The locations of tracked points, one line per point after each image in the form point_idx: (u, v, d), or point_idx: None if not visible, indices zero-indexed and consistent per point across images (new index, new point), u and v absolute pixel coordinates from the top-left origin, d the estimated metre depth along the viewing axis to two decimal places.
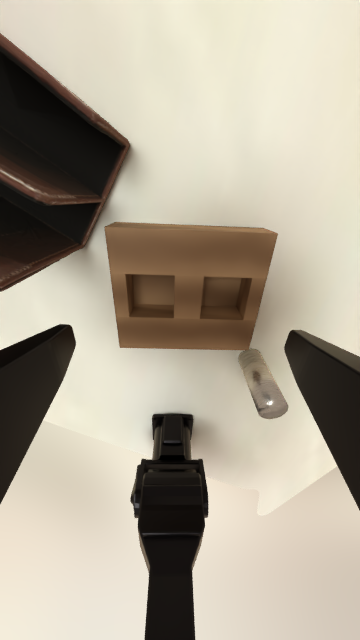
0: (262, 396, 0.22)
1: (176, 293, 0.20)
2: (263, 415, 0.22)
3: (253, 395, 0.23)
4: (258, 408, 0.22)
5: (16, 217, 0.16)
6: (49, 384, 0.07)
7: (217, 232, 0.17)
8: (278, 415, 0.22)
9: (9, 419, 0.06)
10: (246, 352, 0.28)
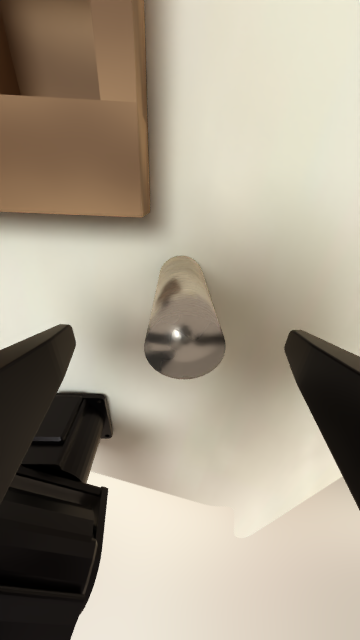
0: (156, 315, 0.08)
1: None
2: (164, 368, 0.08)
3: None
4: (145, 347, 0.08)
5: None
6: (49, 384, 0.07)
7: None
8: (204, 369, 0.08)
9: (9, 419, 0.06)
10: (170, 260, 0.14)
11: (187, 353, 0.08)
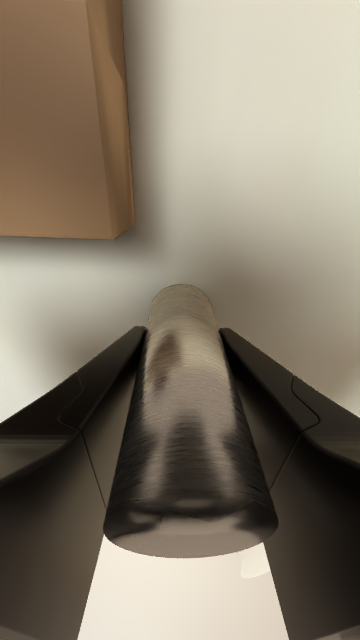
0: (131, 457, 0.04)
1: None
2: (149, 550, 0.04)
3: None
4: None
5: None
6: None
7: None
8: (229, 548, 0.04)
9: (120, 420, 0.06)
10: (165, 291, 0.10)
11: (196, 535, 0.04)
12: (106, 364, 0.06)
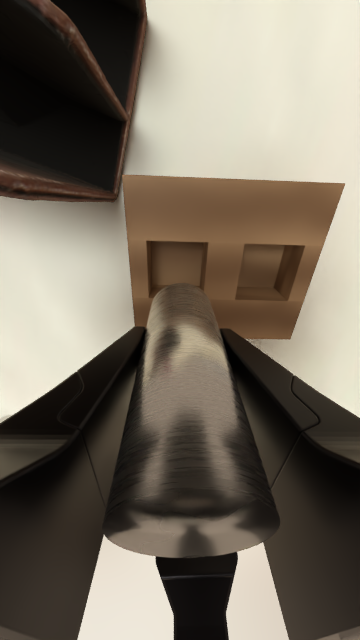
0: (130, 456, 0.04)
1: (209, 266, 0.16)
2: (149, 549, 0.04)
3: None
4: None
5: (31, 163, 0.13)
6: None
7: (267, 182, 0.13)
8: (229, 548, 0.04)
9: (120, 420, 0.06)
10: (165, 290, 0.10)
11: (196, 534, 0.04)
12: (106, 364, 0.06)
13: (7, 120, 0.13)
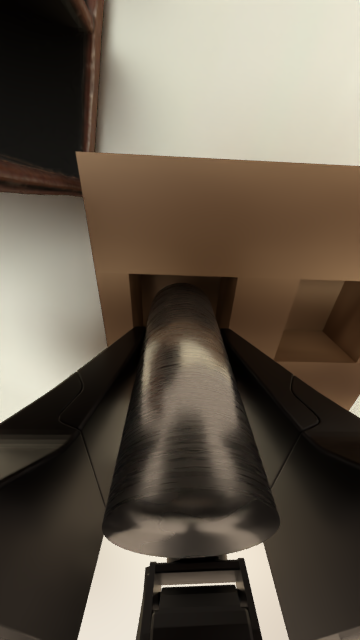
0: (130, 456, 0.04)
1: (236, 313, 0.10)
2: (148, 549, 0.04)
3: None
4: None
5: None
6: None
7: None
8: (229, 548, 0.04)
9: (120, 420, 0.06)
10: (165, 290, 0.10)
11: (196, 534, 0.04)
12: (106, 364, 0.06)
13: None
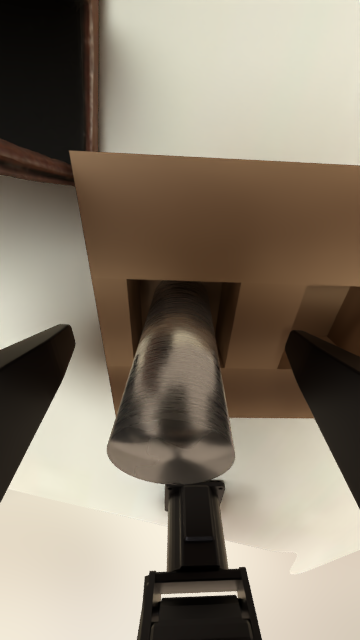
0: (128, 402, 0.05)
1: (239, 320, 0.09)
2: (141, 473, 0.06)
3: None
4: None
5: None
6: (48, 384, 0.07)
7: None
8: (201, 476, 0.06)
9: (8, 419, 0.06)
10: (166, 280, 0.11)
11: (174, 461, 0.05)
12: None
13: None
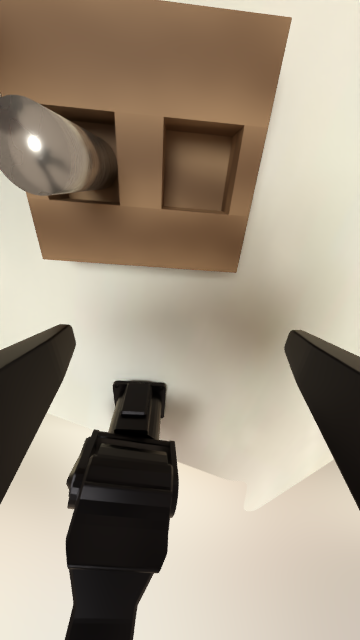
0: None
1: (121, 152, 0.12)
2: (17, 178, 0.09)
3: None
4: None
5: None
6: (49, 384, 0.07)
7: (183, 6, 0.10)
8: (57, 181, 0.09)
9: (9, 419, 0.06)
10: None
11: (33, 156, 0.08)
12: None
13: None
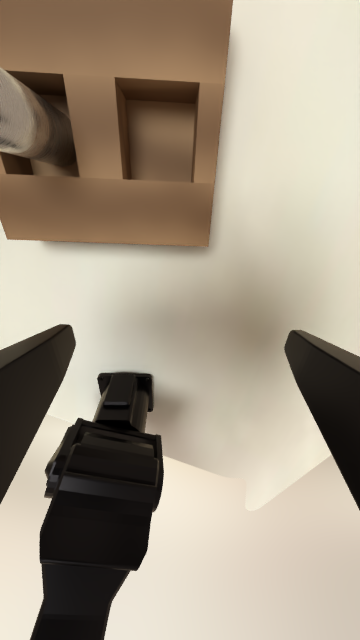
0: None
1: (74, 118, 0.12)
2: None
3: None
4: None
5: None
6: (49, 384, 0.07)
7: None
8: None
9: (9, 419, 0.06)
10: None
11: None
12: None
13: None
